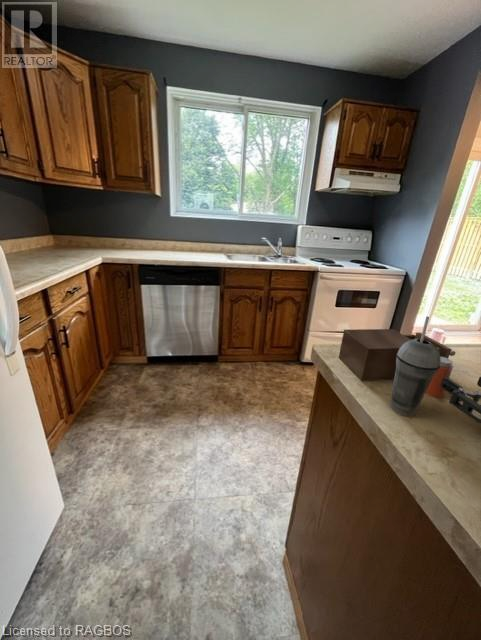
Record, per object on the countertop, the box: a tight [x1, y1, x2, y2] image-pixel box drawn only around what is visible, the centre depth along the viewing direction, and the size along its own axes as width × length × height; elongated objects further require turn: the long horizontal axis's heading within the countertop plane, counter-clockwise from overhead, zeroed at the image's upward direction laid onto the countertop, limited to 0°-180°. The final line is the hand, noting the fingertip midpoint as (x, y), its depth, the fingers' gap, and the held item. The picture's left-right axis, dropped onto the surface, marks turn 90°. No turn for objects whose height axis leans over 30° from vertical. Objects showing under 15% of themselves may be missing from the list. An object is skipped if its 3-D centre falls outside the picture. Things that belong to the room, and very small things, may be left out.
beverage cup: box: [389, 315, 441, 418], centre depth 52 cm, size 7×7×20 cm
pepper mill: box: [425, 357, 454, 398], centre depth 61 cm, size 4×4×8 cm
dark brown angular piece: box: [401, 332, 456, 359], centre depth 72 cm, size 18×10×7 cm, turn 98°
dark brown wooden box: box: [338, 328, 411, 382], centre depth 70 cm, size 15×12×9 cm
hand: (461, 380), depth 55 cm, fingers open, 8 cm apart
